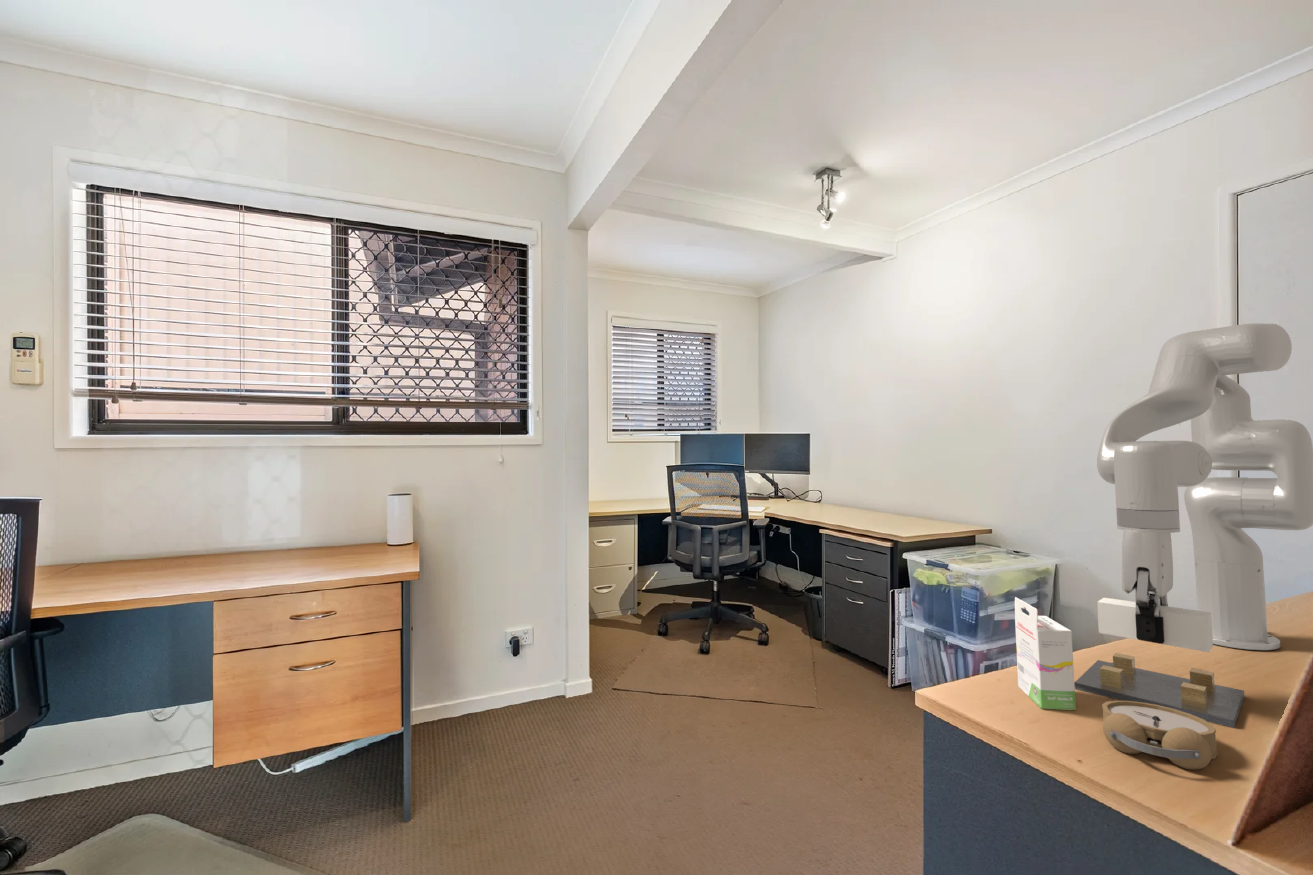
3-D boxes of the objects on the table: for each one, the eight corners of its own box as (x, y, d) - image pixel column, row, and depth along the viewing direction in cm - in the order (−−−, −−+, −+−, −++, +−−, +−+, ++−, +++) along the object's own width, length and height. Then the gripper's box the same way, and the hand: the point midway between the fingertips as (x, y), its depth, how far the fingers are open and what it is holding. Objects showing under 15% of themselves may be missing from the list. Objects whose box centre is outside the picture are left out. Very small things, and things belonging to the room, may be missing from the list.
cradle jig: (1098, 665, 100) (1097, 645, 100) (1244, 697, 86) (1243, 673, 86) (1074, 688, 91) (1073, 666, 91) (1234, 727, 77) (1232, 701, 78)
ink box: (1078, 711, 84) (1073, 610, 84) (1041, 709, 84) (1035, 609, 85) (1050, 687, 92) (1045, 595, 92) (1016, 686, 93) (1012, 595, 93)
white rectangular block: (1105, 627, 95) (1103, 597, 95) (1213, 646, 85) (1211, 612, 85) (1098, 632, 93) (1097, 601, 93) (1209, 652, 83) (1207, 617, 83)
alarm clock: (1214, 716, 75) (1216, 738, 65) (1217, 756, 74) (1219, 785, 64) (1107, 694, 83) (1092, 710, 72) (1108, 730, 82) (1094, 752, 72)
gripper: (1129, 514, 98) (1134, 622, 97) (1103, 523, 87) (1109, 644, 86) (1188, 517, 92) (1194, 632, 91) (1169, 527, 81) (1176, 657, 81)
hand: (1153, 636), depth 89 cm, fingers closed on white rectangular block, 4 cm apart
